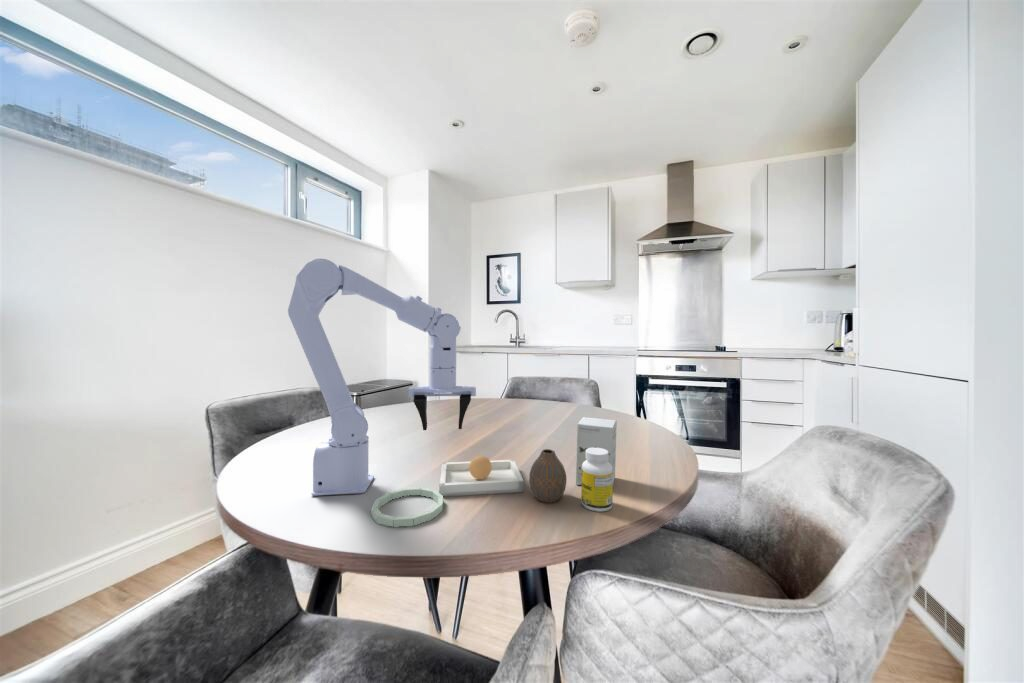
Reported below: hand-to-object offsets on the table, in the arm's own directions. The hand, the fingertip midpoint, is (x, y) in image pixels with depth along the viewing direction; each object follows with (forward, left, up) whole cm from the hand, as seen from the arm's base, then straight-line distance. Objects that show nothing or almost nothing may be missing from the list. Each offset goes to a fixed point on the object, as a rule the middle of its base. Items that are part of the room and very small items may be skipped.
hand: (442, 428), depth 78 cm
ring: (-5, -17, -9) cm, 20 cm away
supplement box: (+32, -10, -10) cm, 35 cm away
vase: (+20, -16, -10) cm, 27 cm away
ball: (+8, -7, -6) cm, 13 cm away
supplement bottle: (+28, -20, -10) cm, 36 cm away
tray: (+8, -7, -9) cm, 14 cm away
